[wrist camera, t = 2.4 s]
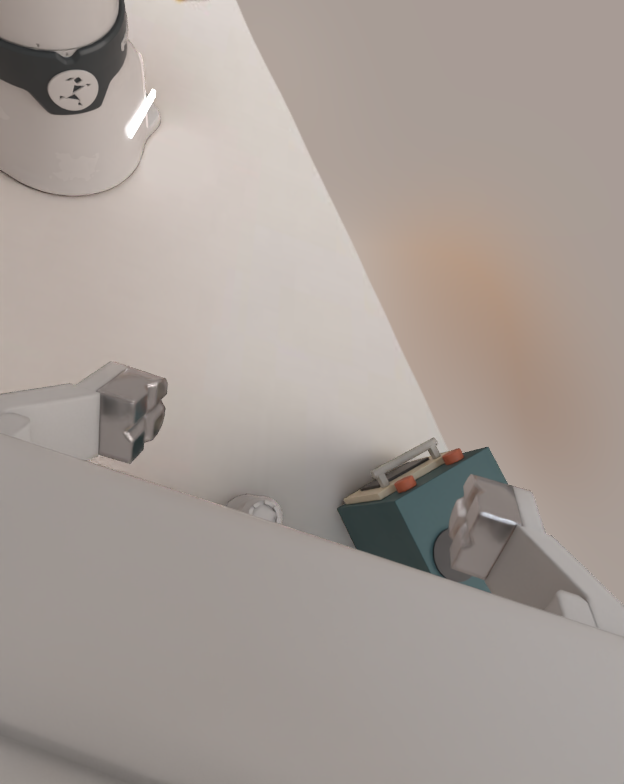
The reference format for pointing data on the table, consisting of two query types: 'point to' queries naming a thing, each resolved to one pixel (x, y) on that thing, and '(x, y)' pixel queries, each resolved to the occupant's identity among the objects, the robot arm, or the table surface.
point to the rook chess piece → (257, 507)
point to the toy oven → (416, 508)
